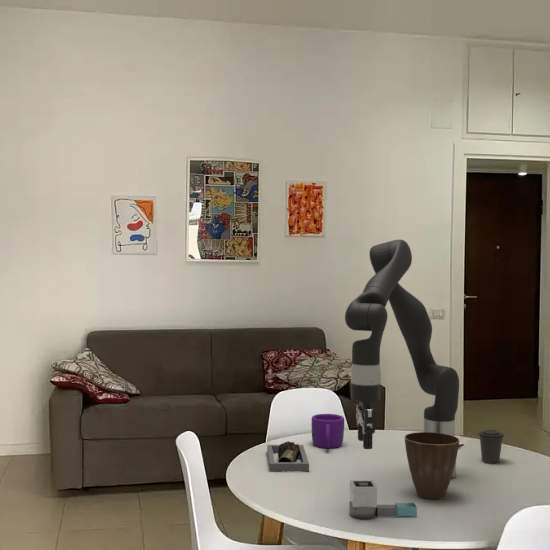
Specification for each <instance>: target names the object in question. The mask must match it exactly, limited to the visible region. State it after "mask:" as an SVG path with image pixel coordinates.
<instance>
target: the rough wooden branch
mask: <svg viewBox="0 0 550 550" xmlns="http://www.w3.org/2000/svg"><path fill="white" fill-rule="evenodd" d="M279 445H280V446H279V448H278V449H279V450H278V453H277V458H278V461H277V462H295V461H296V459H298V458H299V457H300V456H299V455H300V448H299V445H300V444H298V443H297V444H296V443H295V442H294V441H286V442H285V441H284V442H283V443H280V444H279Z"/></svg>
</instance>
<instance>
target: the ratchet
mask: <svg viewBox="0 0 550 550" xmlns="http://www.w3.org/2000/svg"><path fill="white" fill-rule="evenodd" d="M356 487H369V485H368V483H358V486H356ZM348 508H349V509H348V511H349V512H348V515H349V517H350V518H353V519H357V520H363V521H367V520H373V518H374V519H375V517H376V518H377V516H418V515H417V514H418V507H417V505H416V503H415V502H394V504H377V507H353V506H352V504H351V501H350V500H349V503H348Z"/></svg>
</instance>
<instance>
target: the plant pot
mask: <svg viewBox="0 0 550 550" xmlns="http://www.w3.org/2000/svg"><path fill="white" fill-rule="evenodd" d="M404 443H405V444H404V445H405V453H406V459H407V463H408V468H409V472H410V475H411V480H412V483H413V486H414V490H415V491H416V494H417V496H418V497H420V498H423V499H427V500H438V499H439V500H440V499H443V498H444V497H445V495H446V494H447V490H448V488H449V485H450V483H451V480H452V478H451V477H452V474H453V470H454V466H455V462H456V463H457V457H458V452H459V447H460V446H459V445H460V439H459V437H456V435H455V436H452V435H448V434H442V433H433V432H424V431H422V432H421V431H418V432H417V431H416V432H410V433H407V434H405V435H404Z"/></svg>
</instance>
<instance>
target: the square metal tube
mask: <svg viewBox="0 0 550 550" xmlns="http://www.w3.org/2000/svg"><path fill="white" fill-rule="evenodd" d="M374 481H375V480H367V479H366V480H362V479H361V480H359V479H358V480H352V479H351V480H349V502H350V501H351V504H352V506H353V507H377V505H378V487H377V485H376V483H375V482H374ZM358 483H368V485H369V487H356V486H358Z"/></svg>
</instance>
